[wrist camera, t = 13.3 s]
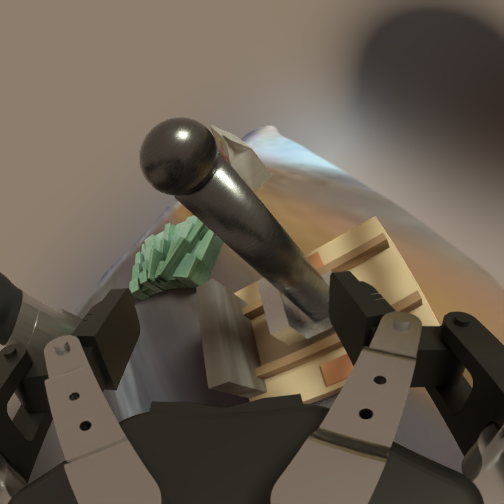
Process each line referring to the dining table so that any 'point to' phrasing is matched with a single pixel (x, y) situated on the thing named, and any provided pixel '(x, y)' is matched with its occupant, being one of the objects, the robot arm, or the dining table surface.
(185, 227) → the money
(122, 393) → the dining table surface
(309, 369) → the press bench
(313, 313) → the handle
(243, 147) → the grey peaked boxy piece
